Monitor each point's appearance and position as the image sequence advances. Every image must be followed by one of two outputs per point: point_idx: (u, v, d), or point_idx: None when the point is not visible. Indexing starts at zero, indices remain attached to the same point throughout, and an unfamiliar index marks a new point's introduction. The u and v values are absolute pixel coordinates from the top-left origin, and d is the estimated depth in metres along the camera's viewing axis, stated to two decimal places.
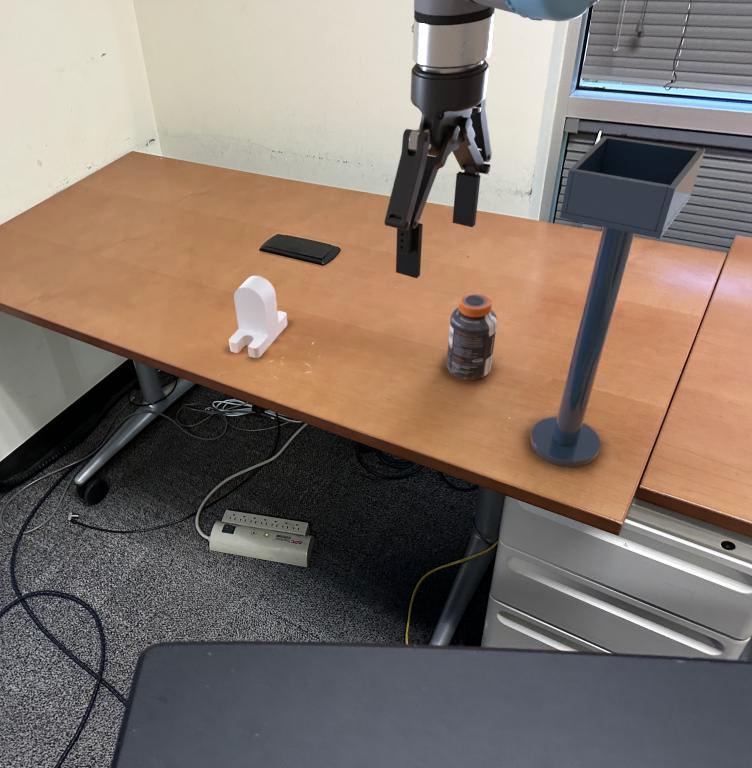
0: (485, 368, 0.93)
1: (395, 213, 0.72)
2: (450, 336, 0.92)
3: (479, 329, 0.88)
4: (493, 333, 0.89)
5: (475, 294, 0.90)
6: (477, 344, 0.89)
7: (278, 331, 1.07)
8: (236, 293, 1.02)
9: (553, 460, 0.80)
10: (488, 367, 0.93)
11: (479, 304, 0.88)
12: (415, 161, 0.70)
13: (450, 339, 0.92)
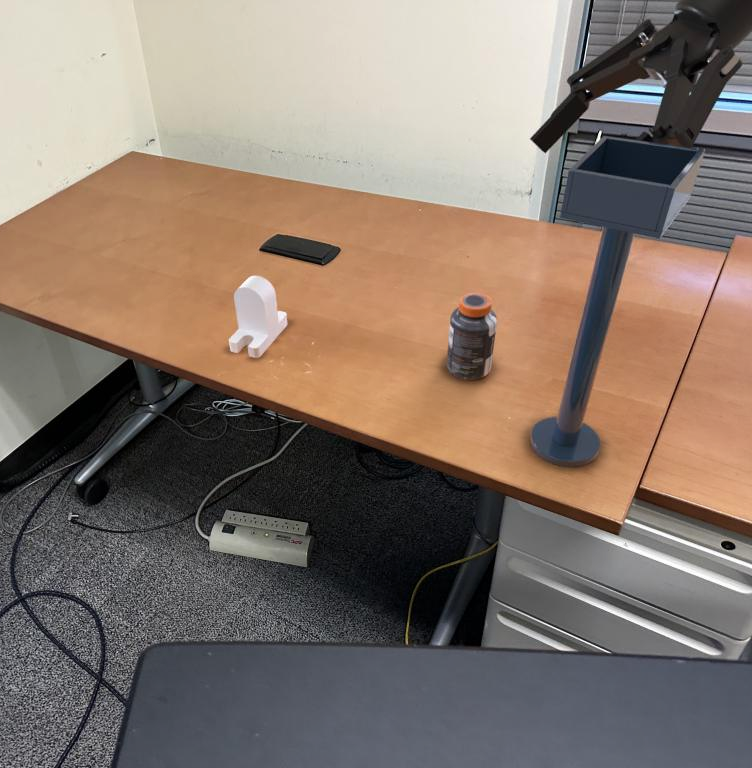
0: (485, 368, 0.93)
1: (691, 128, 0.67)
2: (450, 336, 0.92)
3: (479, 329, 0.88)
4: (493, 333, 0.89)
5: (475, 294, 0.90)
6: (477, 344, 0.89)
7: (278, 331, 1.07)
8: (236, 293, 1.02)
9: (553, 460, 0.80)
10: (488, 367, 0.93)
11: (479, 304, 0.88)
12: (721, 83, 0.67)
13: (450, 339, 0.92)
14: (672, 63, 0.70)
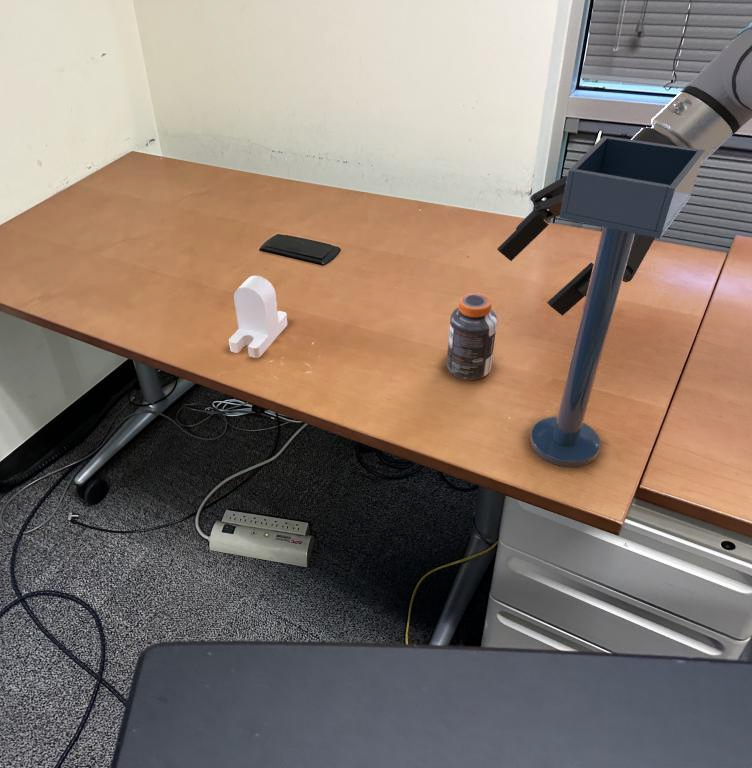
0: (485, 368, 0.93)
1: (630, 265, 0.77)
2: (450, 336, 0.92)
3: (479, 329, 0.88)
4: (493, 333, 0.89)
5: (475, 294, 0.90)
6: (477, 344, 0.89)
7: (278, 331, 1.07)
8: (236, 293, 1.02)
9: (553, 460, 0.80)
10: (488, 367, 0.93)
11: (479, 304, 0.88)
12: None
13: (450, 339, 0.92)
14: None
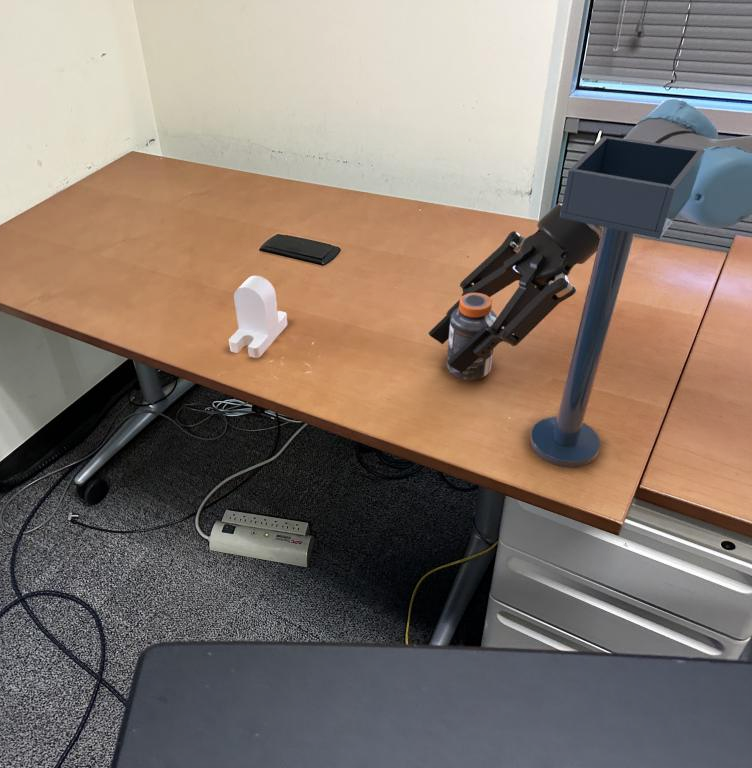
0: (485, 368, 0.93)
1: (516, 334, 0.84)
2: (450, 336, 0.92)
3: (479, 329, 0.88)
4: None
5: (475, 294, 0.89)
6: None
7: (278, 331, 1.07)
8: (236, 293, 1.02)
9: (553, 460, 0.80)
10: (488, 367, 0.93)
11: (479, 304, 0.88)
12: (553, 303, 0.83)
13: (450, 339, 0.92)
14: (532, 274, 0.84)
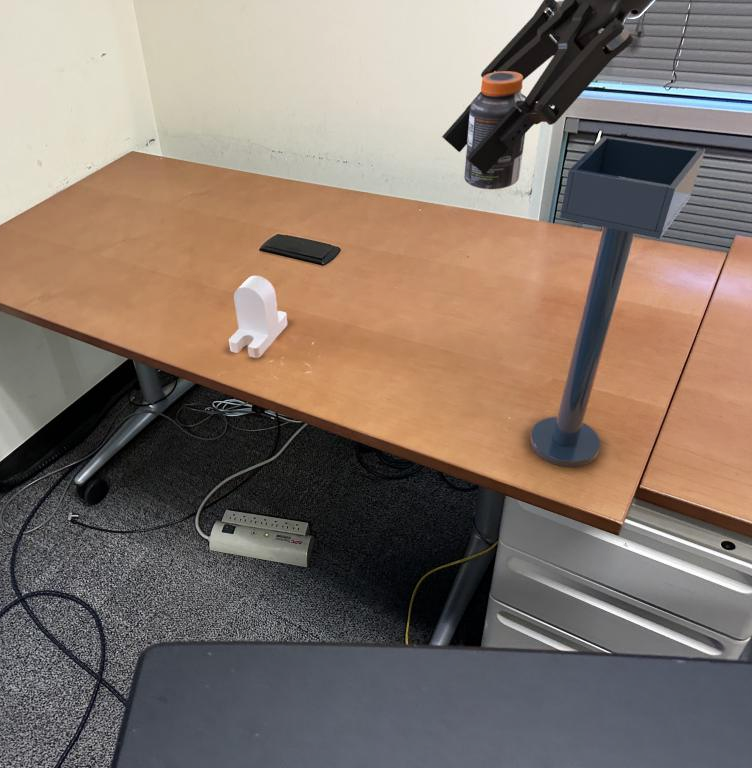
0: (513, 173, 0.75)
1: (556, 105, 0.67)
2: (470, 131, 0.74)
3: (508, 110, 0.70)
4: None
5: (501, 72, 0.72)
6: None
7: (278, 331, 1.07)
8: (236, 293, 1.02)
9: (553, 460, 0.80)
10: (517, 172, 0.75)
11: (507, 78, 0.70)
12: (603, 60, 0.65)
13: (470, 135, 0.74)
14: (576, 28, 0.66)
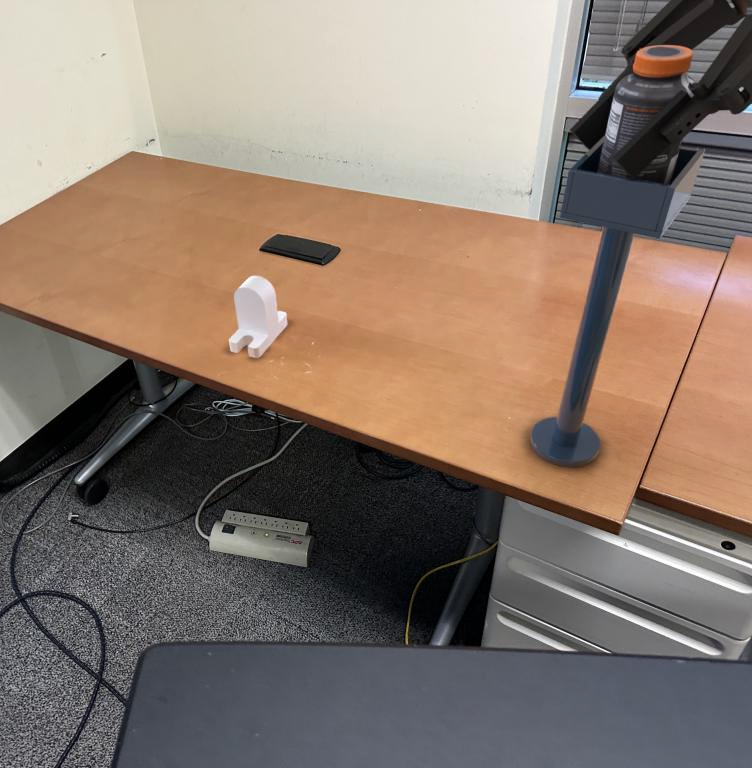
0: (667, 176, 0.59)
1: (748, 88, 0.50)
2: (613, 122, 0.58)
3: (673, 96, 0.54)
4: None
5: (661, 46, 0.55)
6: None
7: (278, 331, 1.07)
8: (236, 293, 1.02)
9: (553, 460, 0.80)
10: (670, 175, 0.59)
11: (673, 54, 0.54)
12: None
13: (613, 128, 0.58)
14: None
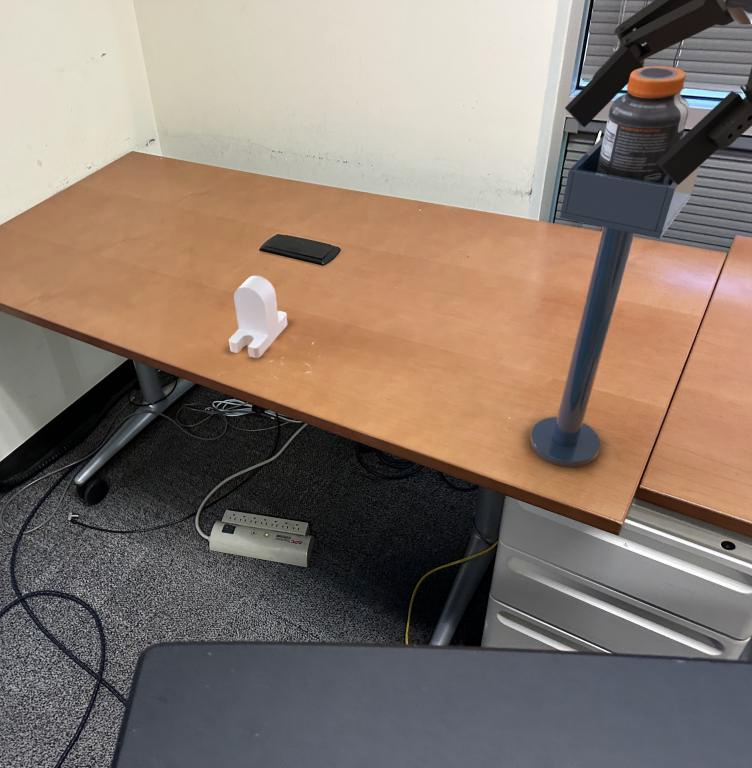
0: None
1: None
2: (608, 141, 0.59)
3: (666, 116, 0.55)
4: (683, 128, 0.57)
5: (654, 67, 0.57)
6: (657, 146, 0.57)
7: (278, 331, 1.07)
8: (236, 293, 1.02)
9: (553, 460, 0.80)
10: None
11: (666, 75, 0.55)
12: None
13: (608, 147, 0.59)
14: None
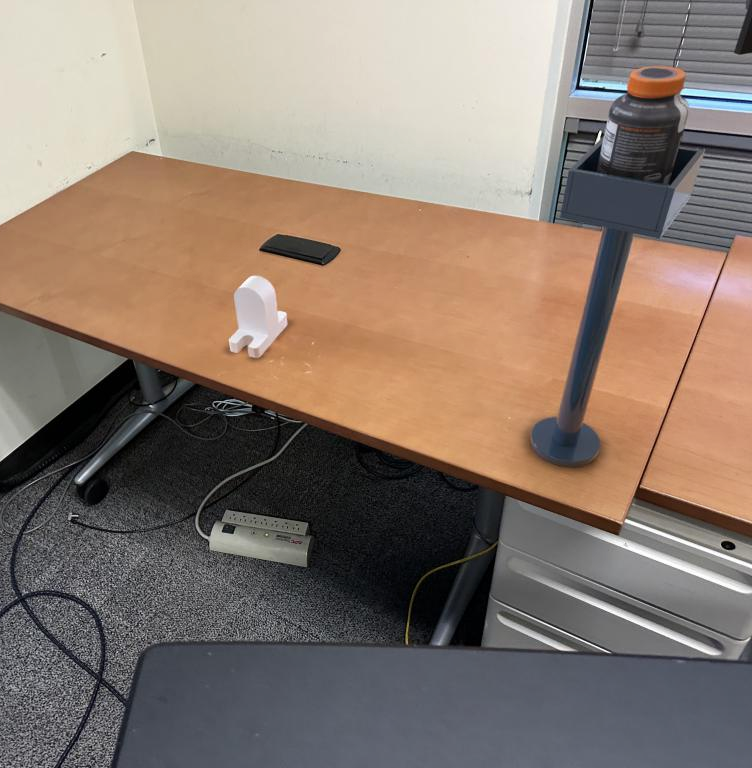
0: None
1: None
2: (608, 141, 0.59)
3: (666, 116, 0.55)
4: (683, 128, 0.57)
5: (654, 67, 0.57)
6: (657, 146, 0.57)
7: (278, 331, 1.07)
8: (236, 293, 1.02)
9: (553, 460, 0.80)
10: None
11: (666, 75, 0.55)
12: None
13: (608, 147, 0.59)
14: None
